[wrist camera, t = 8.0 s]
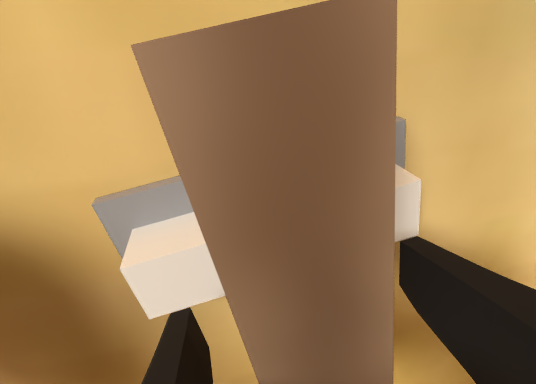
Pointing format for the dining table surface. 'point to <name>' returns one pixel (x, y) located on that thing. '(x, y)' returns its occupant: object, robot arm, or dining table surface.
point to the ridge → (199, 237)
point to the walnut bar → (292, 179)
